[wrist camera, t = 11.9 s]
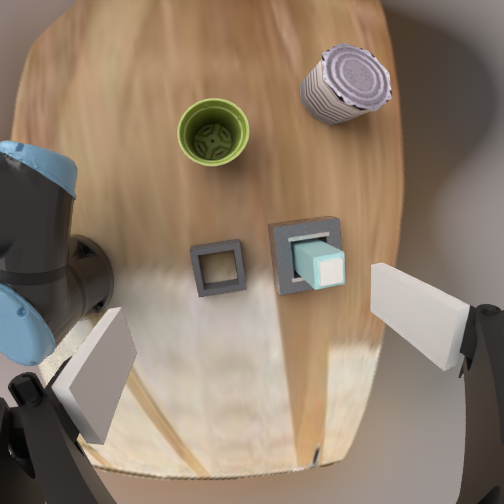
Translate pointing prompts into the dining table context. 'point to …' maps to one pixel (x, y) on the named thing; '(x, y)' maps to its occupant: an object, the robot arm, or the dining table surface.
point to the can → (345, 85)
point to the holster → (224, 285)
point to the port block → (282, 253)
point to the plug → (318, 263)
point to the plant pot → (213, 132)
